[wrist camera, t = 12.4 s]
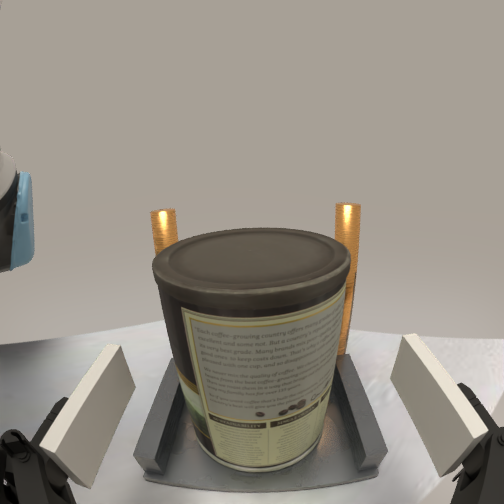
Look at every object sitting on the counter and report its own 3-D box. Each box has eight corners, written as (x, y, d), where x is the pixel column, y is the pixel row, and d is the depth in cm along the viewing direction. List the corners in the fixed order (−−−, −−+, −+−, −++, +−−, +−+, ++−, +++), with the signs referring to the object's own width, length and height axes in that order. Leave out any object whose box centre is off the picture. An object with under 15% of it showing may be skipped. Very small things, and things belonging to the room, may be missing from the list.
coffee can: (167, 429, 18) (115, 260, 13) (245, 366, 26) (235, 222, 21) (279, 497, 12) (293, 317, 8) (344, 402, 20) (370, 237, 16)
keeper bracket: (142, 479, 13) (38, 269, 8) (181, 364, 27) (155, 209, 22) (379, 475, 13) (472, 257, 8) (340, 360, 26) (355, 202, 21)
